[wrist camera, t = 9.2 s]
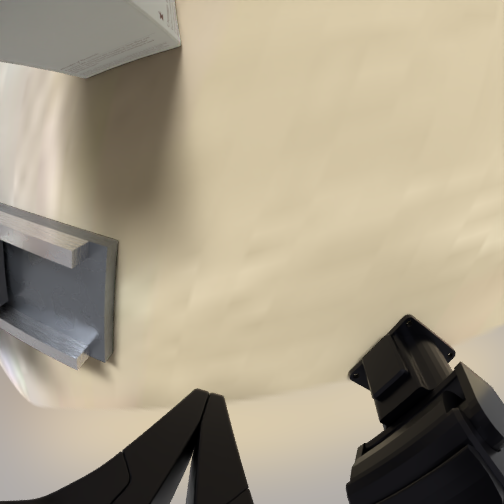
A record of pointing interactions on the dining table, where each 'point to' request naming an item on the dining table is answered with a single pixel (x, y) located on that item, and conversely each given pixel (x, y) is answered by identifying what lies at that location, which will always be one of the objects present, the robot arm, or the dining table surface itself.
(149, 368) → the dining table surface
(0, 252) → the knob
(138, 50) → the supplement box
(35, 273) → the mount
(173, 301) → the dining table surface
